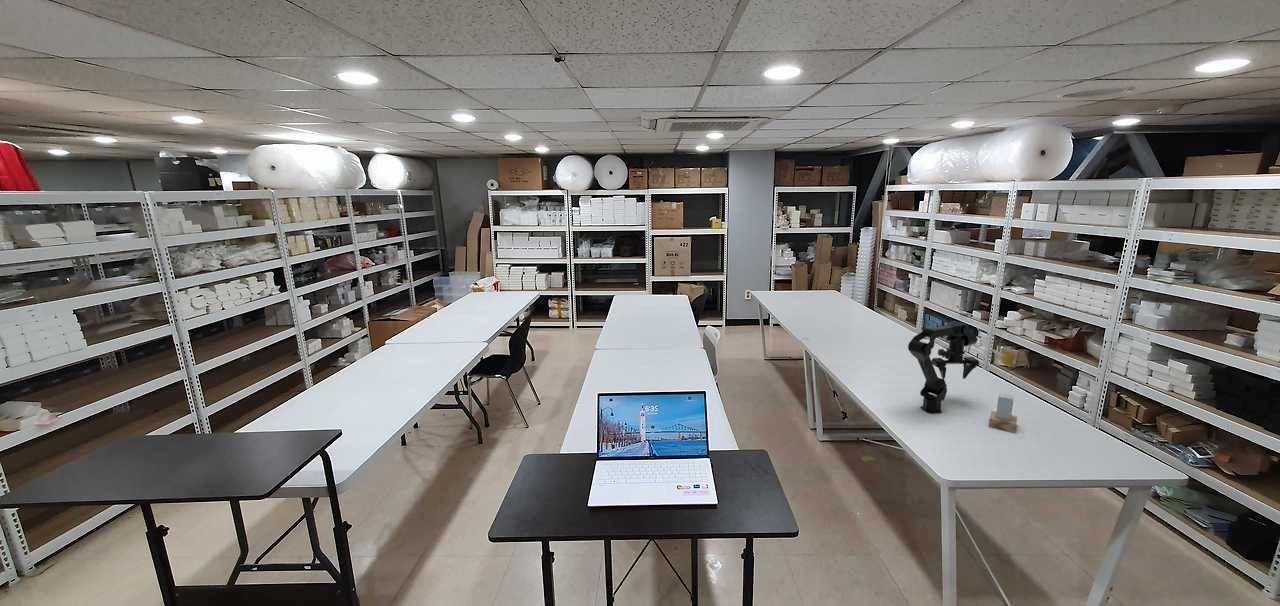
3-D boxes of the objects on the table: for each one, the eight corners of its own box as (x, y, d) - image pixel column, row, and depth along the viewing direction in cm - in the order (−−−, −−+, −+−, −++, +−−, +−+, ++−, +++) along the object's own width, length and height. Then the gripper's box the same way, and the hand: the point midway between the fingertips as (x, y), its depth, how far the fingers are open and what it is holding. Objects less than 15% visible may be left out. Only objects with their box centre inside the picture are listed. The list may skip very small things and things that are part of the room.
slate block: (995, 417, 204) (998, 396, 202) (996, 413, 207) (999, 392, 205) (1010, 421, 201) (1013, 399, 198) (1011, 416, 204) (1014, 395, 202)
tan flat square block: (988, 426, 204) (989, 418, 204) (990, 419, 211) (991, 411, 210) (1014, 432, 199) (1015, 424, 198) (1016, 424, 205) (1017, 416, 204)
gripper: (967, 342, 228) (964, 372, 231) (926, 343, 230) (924, 373, 233) (981, 349, 217) (978, 381, 220) (938, 350, 219) (936, 381, 222)
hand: (953, 378), depth 224 cm, fingers open, 9 cm apart
